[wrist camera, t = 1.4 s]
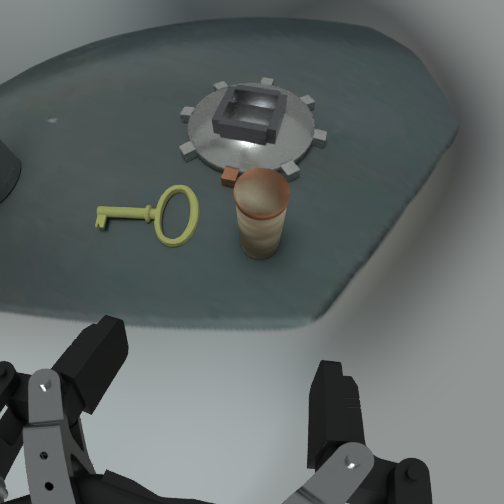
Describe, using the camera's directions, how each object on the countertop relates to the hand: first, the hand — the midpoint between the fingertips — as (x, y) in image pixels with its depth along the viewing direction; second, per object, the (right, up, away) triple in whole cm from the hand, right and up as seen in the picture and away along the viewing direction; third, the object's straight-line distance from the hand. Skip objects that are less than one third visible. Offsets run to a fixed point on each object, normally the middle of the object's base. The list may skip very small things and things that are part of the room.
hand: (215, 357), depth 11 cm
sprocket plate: (+1, +20, +25) cm, 32 cm away
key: (-10, +8, +22) cm, 25 cm away
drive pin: (+2, +5, +20) cm, 21 cm away
